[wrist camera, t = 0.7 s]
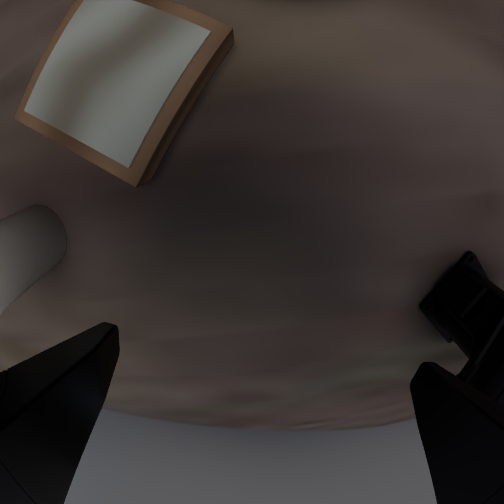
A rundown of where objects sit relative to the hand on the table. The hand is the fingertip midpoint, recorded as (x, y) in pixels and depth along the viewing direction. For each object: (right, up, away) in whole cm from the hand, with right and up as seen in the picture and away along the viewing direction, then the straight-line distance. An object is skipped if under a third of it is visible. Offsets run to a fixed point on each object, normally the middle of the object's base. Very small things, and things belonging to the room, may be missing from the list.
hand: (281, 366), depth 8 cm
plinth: (-9, +14, +8) cm, 18 cm away
